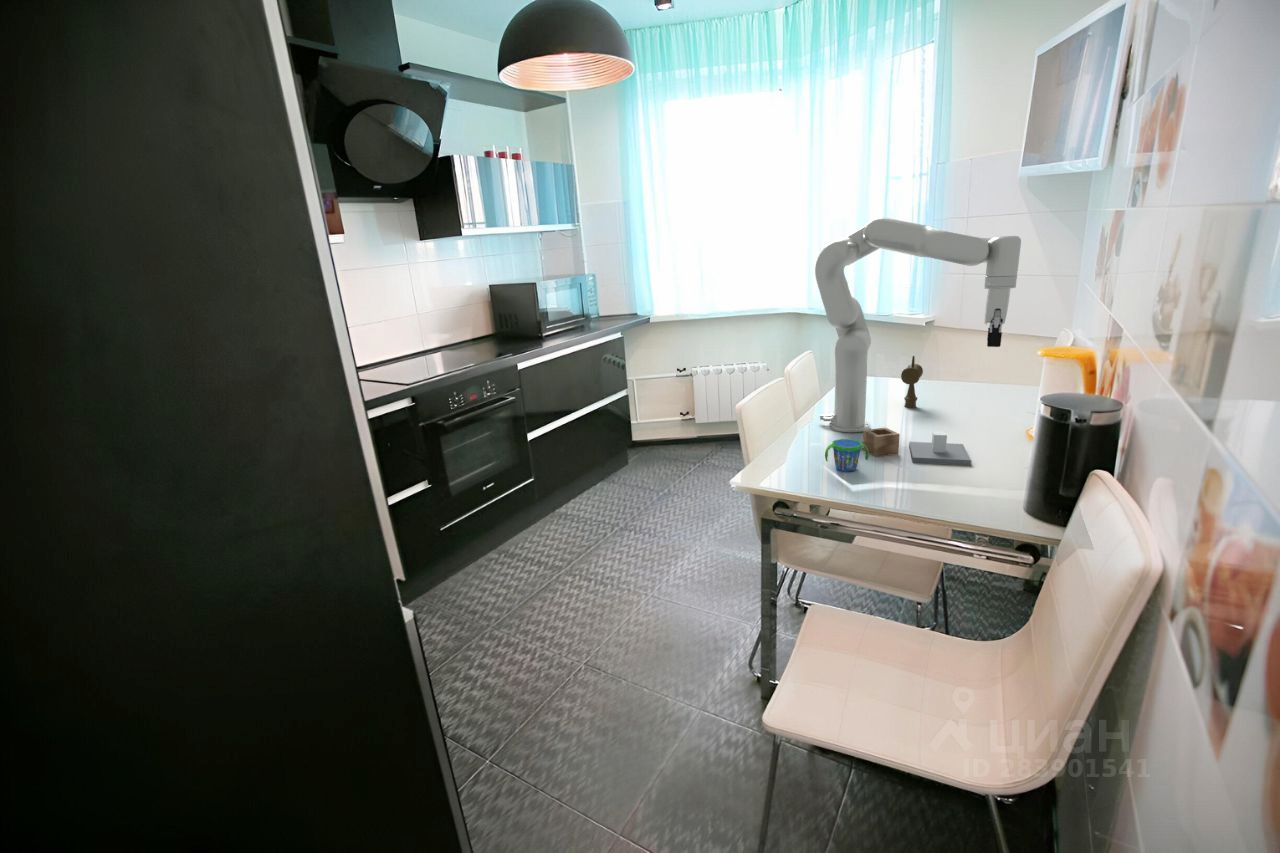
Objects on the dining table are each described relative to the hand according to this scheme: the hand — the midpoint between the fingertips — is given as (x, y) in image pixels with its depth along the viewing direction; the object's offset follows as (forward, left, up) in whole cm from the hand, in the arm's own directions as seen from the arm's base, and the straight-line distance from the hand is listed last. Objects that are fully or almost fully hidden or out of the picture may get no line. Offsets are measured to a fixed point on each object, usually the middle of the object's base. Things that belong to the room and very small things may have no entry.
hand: (993, 343), depth 166 cm
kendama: (-18, +30, -29) cm, 45 cm away
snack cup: (-38, -33, -29) cm, 58 cm away
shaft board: (-14, -18, -29) cm, 37 cm away
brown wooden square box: (-29, -17, -29) cm, 44 cm away
